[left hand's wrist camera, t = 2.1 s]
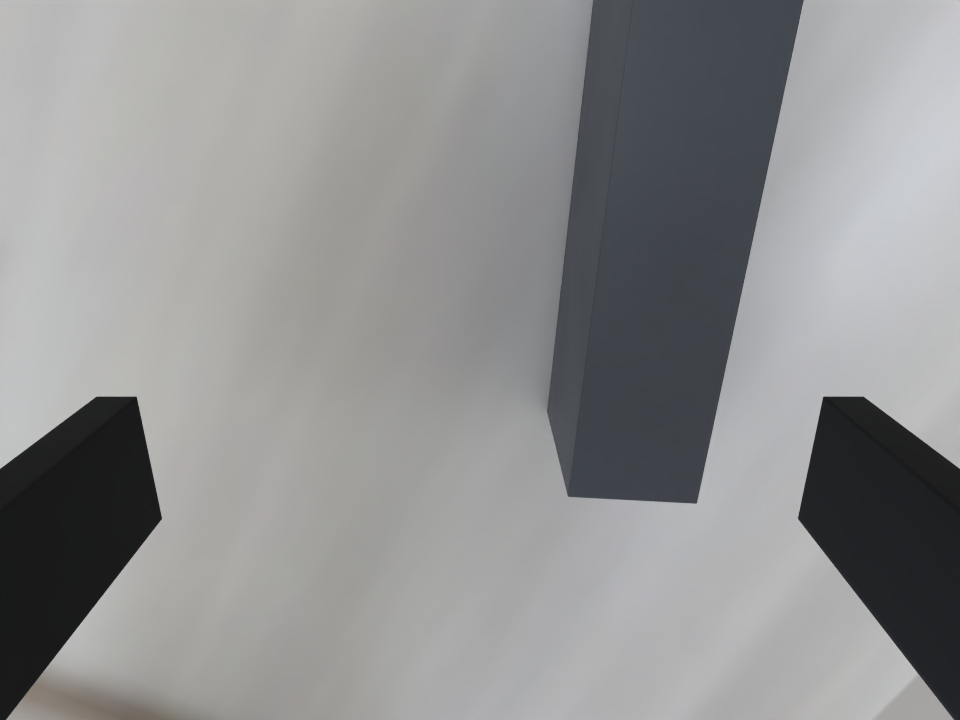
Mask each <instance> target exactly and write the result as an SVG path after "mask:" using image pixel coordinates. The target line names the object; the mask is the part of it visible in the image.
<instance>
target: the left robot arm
mask: <svg viewBox="0 0 960 720" xmlns="http://www.w3.org/2000/svg"><path fill="white" fill-rule="evenodd" d="M161 519H162V516H161V512H160V507H159V502H158V497H157V492H156V488H155V483H154V478H153V473H152V468H151V464H150V459H149V454H148V449H147V444H146V440H145V435H144V430H143V425H142V420H141V416H140V411H139V406H138V401H137V397H96V398H94V399H93V400H92V401H90V402H89V403H88V404H86V405H85V406H84V407H82V408H81V409H80V410H78V411H77V412H76V413H74V414H73V415H72V416H70V417H69V418H68V419H66V420H65V421H64V422H62V423H61V424H60V425H58V426H57V427H56V428H54V429H53V430H52V431H50V432H49V433H48V434H46V435H45V436H44V437H42V438H41V439H40V440H38V441H37V442H36V443H34V444H33V445H32V446H30V447H29V448H28V449H26V450H25V451H24V452H22V453H21V454H20V455H18V456H17V457H16V458H14V459H13V460H12V461H10V462H9V463H8V464H6V465H5V466H4V467H2V468H1V469H0V720H6V719H7V718H8V716H9V715H10V714H11V712H12V711H13V710H14V709H15V707H16V706H17V705H18V703H19V702H20V701H21V700H22V698H23V697H24V696H25V694H26V693H27V692H28V691H29V689H30V688H31V687H32V685H33V684H34V683H35V682H36V680H37V679H38V678H39V676H40V675H41V674H42V673H43V671H44V670H45V669H46V667H47V666H48V665H49V664H50V662H51V661H52V660H53V658H54V657H55V656H56V655H57V653H58V652H59V651H60V649H61V648H62V647H63V646H64V644H65V643H66V642H67V640H68V639H69V638H70V636H71V635H72V634H73V633H74V631H75V630H76V629H77V627H78V626H79V625H80V624H81V622H82V621H83V620H84V618H85V617H86V616H87V615H88V613H89V612H90V611H91V609H92V608H93V607H94V606H95V604H96V603H97V602H98V600H99V599H100V598H101V597H102V595H103V594H104V593H105V591H106V590H107V589H108V588H109V586H110V585H111V584H112V582H113V581H114V580H115V579H116V577H117V576H118V575H119V573H120V572H121V571H122V570H123V568H124V567H125V566H126V564H127V563H128V562H129V561H130V559H131V558H132V557H133V555H134V554H135V553H136V552H137V550H138V549H139V548H140V546H141V545H142V544H143V543H144V541H145V540H146V539H147V537H148V536H149V535H150V533H151V532H152V531H153V530H154V528H155V527H156V526H157V524H158V523H159V522H160V521H161ZM798 519H799V521H800V522H801V523H802V524H803V526H804V527H805V528H806V530H807V531H808V532H809V533H810V535H811V536H812V537H813V539H814V540H815V541H816V543H817V544H818V545H819V546H820V548H821V549H822V550H823V552H824V553H825V554H826V555H827V557H828V558H829V559H830V561H831V562H832V563H833V564H834V566H835V567H836V568H837V570H838V571H839V572H840V573H841V575H842V576H843V577H844V579H845V580H846V581H847V582H848V584H849V585H850V586H851V588H852V589H853V590H854V591H855V593H856V594H857V595H858V597H859V598H860V599H861V600H862V602H863V603H864V604H865V606H866V607H867V608H868V609H869V611H870V612H871V613H872V615H873V616H874V617H875V618H876V620H877V621H878V622H879V624H880V625H881V626H882V627H883V629H884V630H885V631H886V633H887V634H888V635H889V636H890V638H891V639H892V640H893V642H894V643H895V644H896V646H897V647H898V648H899V649H900V651H901V652H902V653H903V655H904V656H905V657H906V658H907V660H908V661H909V662H910V664H911V665H912V666H913V667H914V669H915V670H916V671H917V673H918V674H919V675H920V676H921V678H922V679H923V680H924V682H925V683H926V684H927V685H928V687H929V688H930V689H931V690H932V692H933V693H934V694H935V696H936V697H937V698H938V700H939V701H940V702H941V703H942V705H943V706H944V707H945V709H946V710H947V711H948V712H949V714H950V715H951V716H952V718H953V719H954V720H960V469H959V468H958V467H956V466H955V465H954V464H952V463H951V462H950V461H948V460H947V459H946V458H944V457H943V456H942V455H940V454H939V453H938V452H936V451H935V450H934V449H932V448H931V447H930V446H928V445H927V444H926V443H924V442H923V441H922V440H920V439H919V438H918V437H916V436H915V435H914V434H912V433H911V432H910V431H908V430H907V429H906V428H904V427H903V426H902V425H900V424H899V423H898V422H896V421H895V420H894V419H892V418H891V417H890V416H888V415H887V414H886V413H884V412H883V411H882V410H880V409H879V408H878V407H876V406H875V405H874V404H872V403H871V402H870V401H868V400H867V399H866V398H864V397H823V401H822V406H821V411H820V416H819V420H818V425H817V430H816V435H815V440H814V444H813V449H812V454H811V459H810V464H809V468H808V473H807V478H806V483H805V488H804V492H803V497H802V502H801V507H800V512H799V516H798Z"/></svg>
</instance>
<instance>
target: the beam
mask: <svg viewBox="0 0 960 720" xmlns="http://www.w3.org/2000/svg"><path fill="white" fill-rule="evenodd" d="M802 5H803V0H593V9H592V18H591V27H590V36H589V45H588V54H587V62H586V71H585V80H584V89H583V98H582V107H581V116H580V125H579V134H578V143H577V152H576V160H575V169H574V178H573V187H572V196H571V205H570V214H569V223H568V232H567V241H566V250H565V258H564V267H563V276H562V285H561V294H560V303H559V312H558V321H557V330H556V339H555V348H554V356H553V365H552V374H551V383H550V392H549V401H548V410H547V413H548V417H549V421H550V425H551V429H552V433H553V437H554V441H555V445H556V449H557V453H558V458H559V462H560V466H561V470H562V474H563V478H564V482H565V486H566V490H567V494H568V497H583V498H601V499H620V500H639V501H658V502H677V503H697V500H698V495H699V490H700V486H701V481H702V476H703V471H704V467H705V462H706V457H707V453H708V448H709V443H710V438H711V434H712V429H713V424H714V420H715V415H716V410H717V405H718V401H719V396H720V391H721V387H722V382H723V377H724V372H725V368H726V363H727V358H728V354H729V349H730V344H731V339H732V335H733V330H734V325H735V321H736V316H737V311H738V306H739V302H740V297H741V292H742V288H743V283H744V278H745V273H746V269H747V264H748V259H749V255H750V250H751V245H752V240H753V236H754V231H755V226H756V222H757V217H758V212H759V207H760V203H761V198H762V193H763V189H764V184H765V179H766V174H767V170H768V165H769V160H770V156H771V151H772V146H773V141H774V137H775V132H776V127H777V123H778V118H779V113H780V108H781V104H782V99H783V94H784V90H785V85H786V80H787V75H788V71H789V66H790V61H791V57H792V52H793V47H794V42H795V38H796V33H797V28H798V24H799V19H800V14H801V9H802Z"/></svg>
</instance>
